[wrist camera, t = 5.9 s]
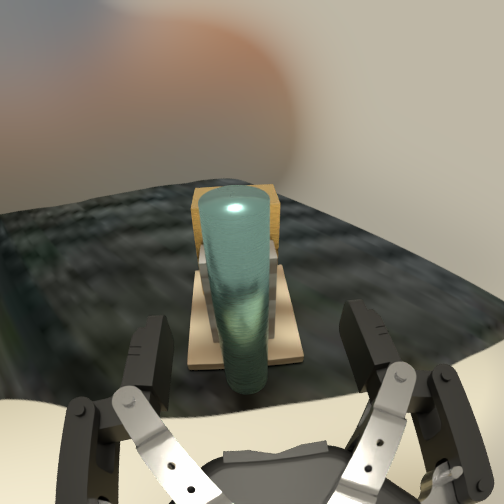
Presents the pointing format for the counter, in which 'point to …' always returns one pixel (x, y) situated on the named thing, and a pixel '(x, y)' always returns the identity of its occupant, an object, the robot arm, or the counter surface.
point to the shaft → (239, 279)
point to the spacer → (267, 188)
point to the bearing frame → (279, 332)
